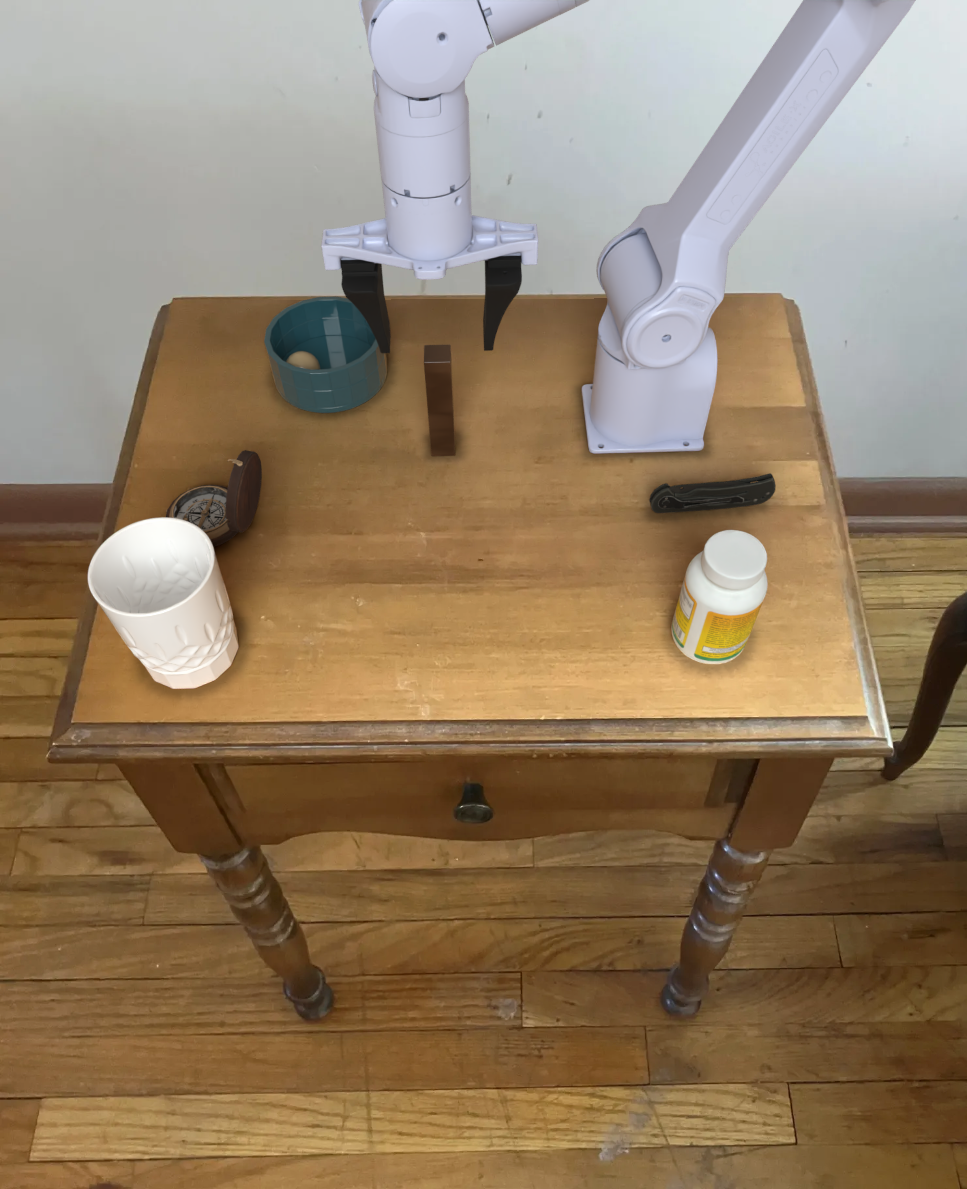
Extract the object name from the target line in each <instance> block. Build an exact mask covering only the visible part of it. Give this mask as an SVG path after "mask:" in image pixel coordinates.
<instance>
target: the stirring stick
mask: <svg viewBox="0 0 967 1189" xmlns="http://www.w3.org/2000/svg"><path fill="white" fill-rule="evenodd" d="M423 369H424V380H425V381H424V382H425V383H424V384H425V395H426V396H425V397H426V408H427V421H428V432H429V444H430V445H429V446H430V456H431V457H455V456H456V426H455V424H456V423H455V406H454V384H453V365H452V345H451V344H450V343H449V344H424V345H423Z"/></svg>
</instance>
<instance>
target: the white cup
mask: <svg viewBox="0 0 967 1189" xmlns="http://www.w3.org/2000/svg"><path fill="white" fill-rule="evenodd" d="M87 583H88V588H89V590H90V593H91V595H92V596H93V598H94V600H95V601H96V603H97V604H98V605H99V607H100V608H101V610H102V611H103V613H104V614H105V616H106V618H107V619H108V621H109V622H110V623H111V625H112V626H113V627H114V629H115V630H116V632H117V634H118V635H119V636H120V638H121V639H122V641H123V642H124V644H125V645H126V646H127V648H128V649H129V650H130V652H131V653H132V655H133V656H134V657H135V658H136V659H138V660H139V661H140V663H141V665H143V667H144V668H145V670H146V671H147V672H148V674H149V675H150V677H151V678H152V679H153V681H154V682H156V683H158V684H161V685H163V686H165V687H168V688H170V689H172V690H180V689H181V690H183V689H184V690H185V689H196V688H199V687H202V686H204V685H206V684H209V683H211V682H213V681H214V682H215V681H216V680H217V679H218V678H219V677H221V676H222V674H224V673H225V672H226V671H227V670H228V669H229V668H230V667H231V666H232V665H233V662H234V659H235V657H236V654H237V653H238V650H239V639H238V629H237V626H236V623H235V620H234V615H233V609H232V605H231V602H230V598H229V593H228V591H227V588H226V584H225V581H224V577H223V574H222V571H221V568H220V565H219V562H218V558H217V555H216V552H215V547H213V545H212V542H211V540H210V539H209V537H208V536H207V535H206V533H205V532H204V531H203V530H202V529H200V528H199V527H198V526H196V525H194V524H192V523H190V522H188V521H185V520H181V519H177V518H168V517H166V516H165V517H163V516H161V517H152V518H146V519H142V520H138V521H135V522H133V523H130V524H128V525H126V526H124V527H122V528H120V529H119V530H117V531H115V532H114V533H113V534H111V535H110V536H108V538H106V540H104V542H102V543H101V545H100V546H99V547H98V548H97V549H96V551H95V552H94V554H93V556H92V558H91V560H90V562H89V566H88V570H87Z"/></svg>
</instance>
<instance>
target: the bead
mask: <svg viewBox="0 0 967 1189" xmlns="http://www.w3.org/2000/svg"><path fill="white" fill-rule="evenodd" d="M286 362H287V363H289V364H291V365H293V366H296V367H301V368H306V369H311V370H313V369H320V365H319V362H318V360H317V359H316V357H315V356H314V355H312V354H311V353H309V352H305V351H298V352H295V353H293V354H292V355H290V356H289V358H288V359H287V361H286Z"/></svg>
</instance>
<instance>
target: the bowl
mask: <svg viewBox="0 0 967 1189" xmlns="http://www.w3.org/2000/svg"><path fill="white" fill-rule="evenodd" d="M263 343H264V347H265V351H266V355H267V359H268V364H269V367H270V371H271V372H270V373H271V376H272V379H273V382H274V386H275V388H276V391H277V392H278V394H279V396H280V397H281V398H282V399H283V400H284V401H285V402H287V403H288V404H290V405H291V406H292V407H295V408H297V409H299V410H302V411H306V412H311V413H316V414H317V413H318V414H333V413H340V412H345V411H349V410H352V409H354V408H357V407H360V406H362V405H363V404H365V403H367V402H369V401H370V400H371V399H372V398H374V397H375V396H376V395H377V394H378V393H379V392H380V390H381V389H382V388H383V386H384V384H385V383H386V380H387V376H388V360H387V353H381V352H380V349H379V346H378V343H377V341H376V338H375V336H374V334H373V332H372V330H371V328H370V326H369V325H368V323H367V321H366V320H365V318H364V317H363V315H362V314H361V313H360V311H359V310H358V309H357V308H356V307H355V305H354V304H353V303H352V302H351V301H350V300H349V299H348V298H346V297H342V296H337V295H335V296H316V297H312V298H307V299H303V300H300V301H298V302H295V303H294V304H293V303H292V304H291V305H288V306H287V307H285V308H283V309H282V310H281V311H279V312H278V313H277V314H276V315H275V316H274V317H272V319H271V321H270V322H269V324H268V325H267V326H266V328H265V334H264V341H263ZM298 351H305V352H309V353H311V354H312V355H314V356H315V357H316V359H317V360H318V362H319V365H320V369H313V370H311V369H306V368H301V367H296V366H293V365H291V364H289V363H287V362H286V361H287V359H288V358H289V356H290V355H292V354H293V353H295V352H298Z"/></svg>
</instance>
